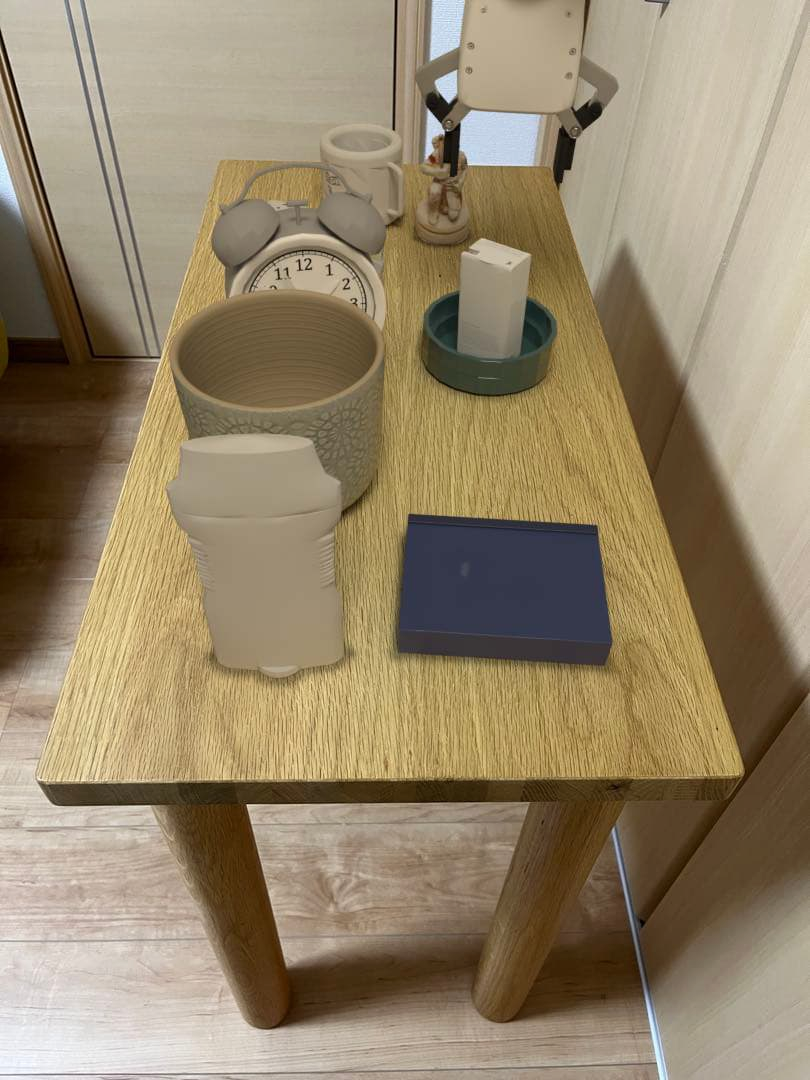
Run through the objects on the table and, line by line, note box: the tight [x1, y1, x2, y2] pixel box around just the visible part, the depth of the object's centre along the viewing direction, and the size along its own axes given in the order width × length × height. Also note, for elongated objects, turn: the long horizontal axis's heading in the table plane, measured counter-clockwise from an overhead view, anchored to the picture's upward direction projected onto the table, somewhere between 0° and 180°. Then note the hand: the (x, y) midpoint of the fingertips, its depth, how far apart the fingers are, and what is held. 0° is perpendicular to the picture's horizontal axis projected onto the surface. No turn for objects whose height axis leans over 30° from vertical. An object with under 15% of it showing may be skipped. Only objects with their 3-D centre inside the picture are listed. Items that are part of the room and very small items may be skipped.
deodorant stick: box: [164, 434, 345, 679], centre depth 55 cm, size 11×4×22 cm, turn 93°
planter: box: [168, 289, 386, 512], centre depth 71 cm, size 17×17×15 cm
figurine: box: [414, 133, 470, 246], centre depth 104 cm, size 7×7×15 cm
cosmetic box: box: [457, 237, 532, 359], centre depth 86 cm, size 6×4×12 cm
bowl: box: [421, 289, 559, 396], centre depth 89 cm, size 14×14×4 cm
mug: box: [319, 123, 405, 226], centre depth 109 cm, size 14×11×10 cm
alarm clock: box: [210, 161, 388, 333], centre depth 80 cm, size 16×9×22 cm, turn 102°
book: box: [397, 513, 613, 667], centre depth 66 cm, size 16×12×3 cm
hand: (505, 173), depth 76 cm, fingers open, 9 cm apart
